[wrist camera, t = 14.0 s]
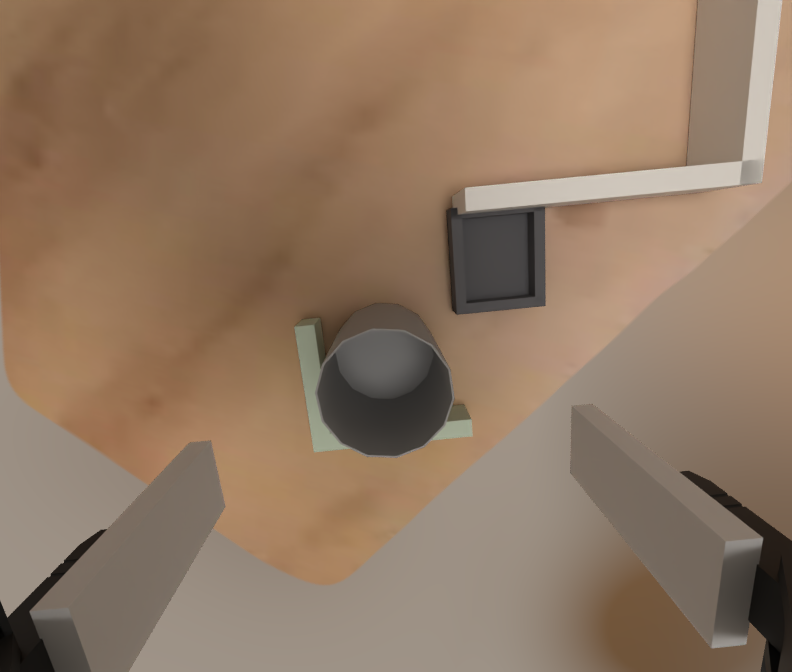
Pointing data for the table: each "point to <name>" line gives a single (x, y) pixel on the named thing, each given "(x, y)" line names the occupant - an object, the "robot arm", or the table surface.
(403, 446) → the cup
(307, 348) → the dock
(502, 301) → the tray
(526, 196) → the frame
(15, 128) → the table surface
